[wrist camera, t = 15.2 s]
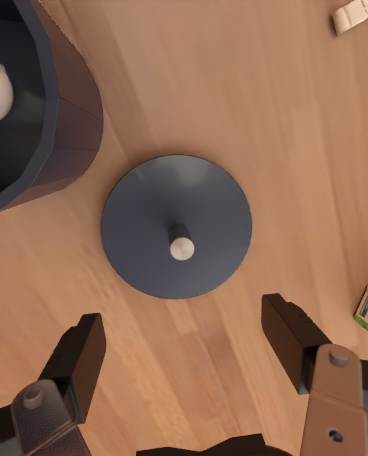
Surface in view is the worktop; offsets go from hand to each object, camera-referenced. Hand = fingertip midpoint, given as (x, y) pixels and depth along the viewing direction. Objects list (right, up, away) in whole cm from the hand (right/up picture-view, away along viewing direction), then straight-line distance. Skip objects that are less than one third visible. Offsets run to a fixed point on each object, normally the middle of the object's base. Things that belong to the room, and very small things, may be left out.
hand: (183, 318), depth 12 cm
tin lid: (-1, +4, +17) cm, 18 cm away
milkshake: (-14, +16, +12) cm, 25 cm away
